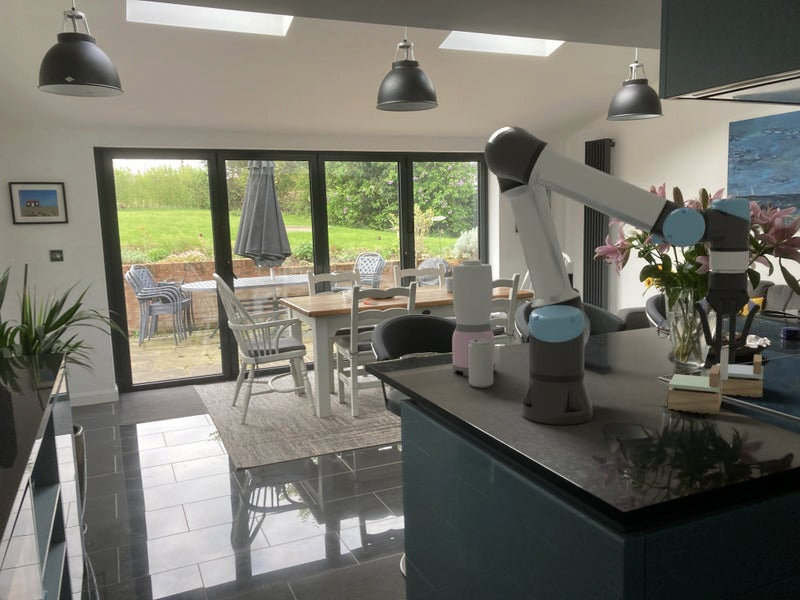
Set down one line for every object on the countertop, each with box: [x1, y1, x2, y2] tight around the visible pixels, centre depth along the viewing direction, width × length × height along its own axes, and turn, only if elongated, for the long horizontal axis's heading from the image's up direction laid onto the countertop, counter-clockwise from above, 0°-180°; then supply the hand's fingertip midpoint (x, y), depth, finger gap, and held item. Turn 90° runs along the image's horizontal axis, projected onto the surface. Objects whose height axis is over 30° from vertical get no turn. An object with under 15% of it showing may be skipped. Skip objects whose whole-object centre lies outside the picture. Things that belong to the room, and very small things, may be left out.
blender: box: [451, 259, 496, 377], centre depth 181 cm, size 16×12×32 cm
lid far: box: [716, 353, 764, 380], centre depth 151 cm, size 10×10×4 cm
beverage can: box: [468, 339, 494, 389], centre depth 165 cm, size 6×6×12 cm
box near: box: [667, 384, 723, 415], centre depth 141 cm, size 10×10×4 cm
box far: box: [722, 376, 764, 398], centre depth 151 cm, size 10×10×4 cm
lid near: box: [668, 364, 722, 392], centre depth 141 cm, size 10×10×4 cm
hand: (723, 378), depth 138 cm, fingers closed
